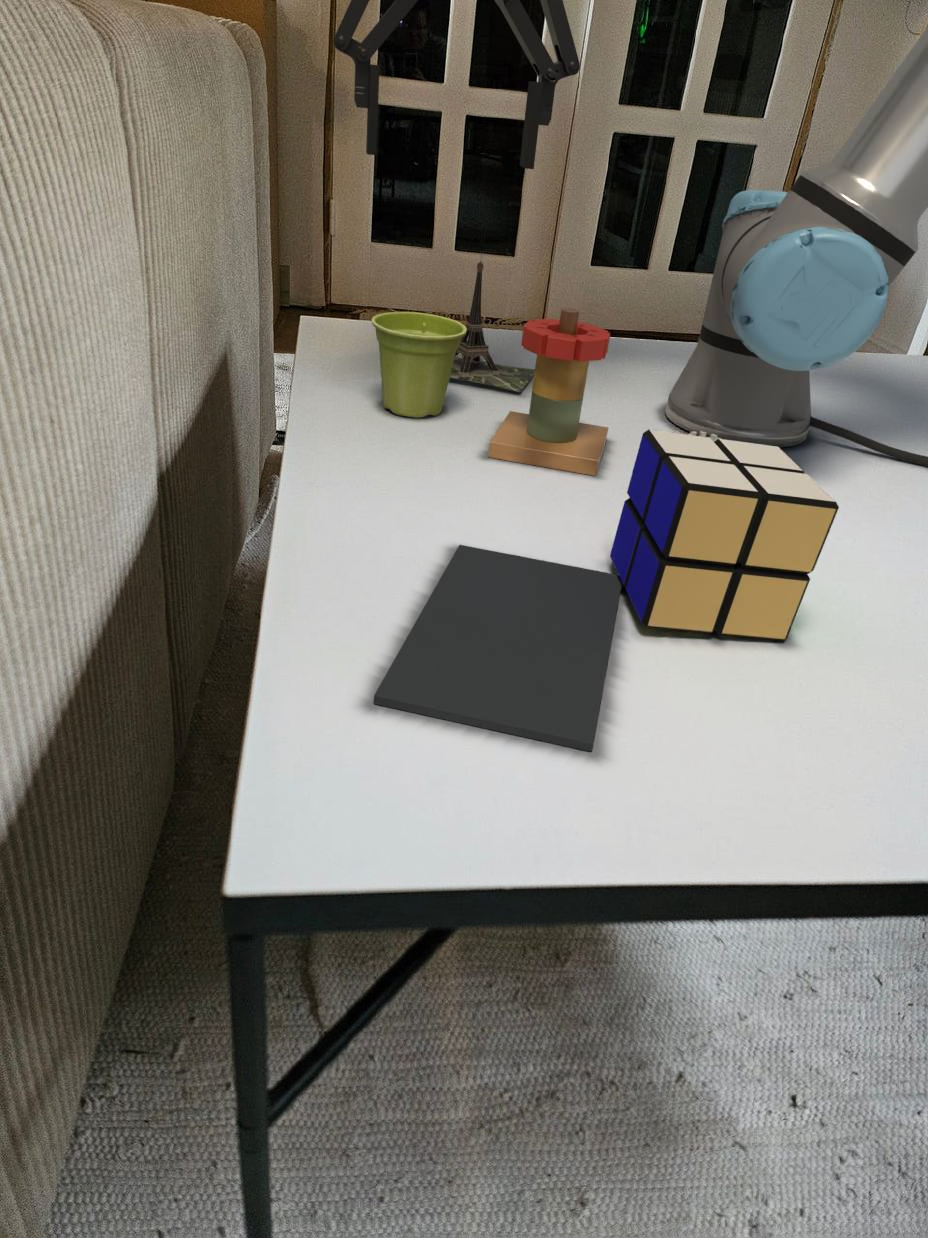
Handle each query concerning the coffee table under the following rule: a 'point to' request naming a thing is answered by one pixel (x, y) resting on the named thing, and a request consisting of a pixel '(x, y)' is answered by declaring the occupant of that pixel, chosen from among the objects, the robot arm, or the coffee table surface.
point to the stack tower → (553, 417)
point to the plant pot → (416, 360)
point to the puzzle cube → (719, 536)
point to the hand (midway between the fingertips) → (449, 161)
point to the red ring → (565, 341)
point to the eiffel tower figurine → (484, 353)
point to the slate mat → (510, 648)
